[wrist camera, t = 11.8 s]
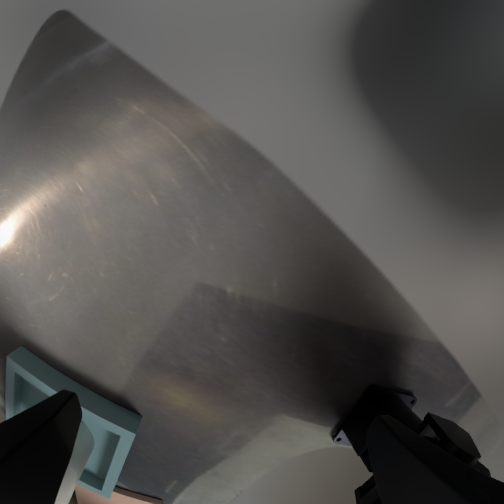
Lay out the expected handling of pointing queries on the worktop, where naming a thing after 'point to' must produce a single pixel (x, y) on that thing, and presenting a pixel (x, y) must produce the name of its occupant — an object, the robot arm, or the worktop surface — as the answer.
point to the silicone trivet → (112, 497)
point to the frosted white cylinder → (76, 464)
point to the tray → (93, 416)
